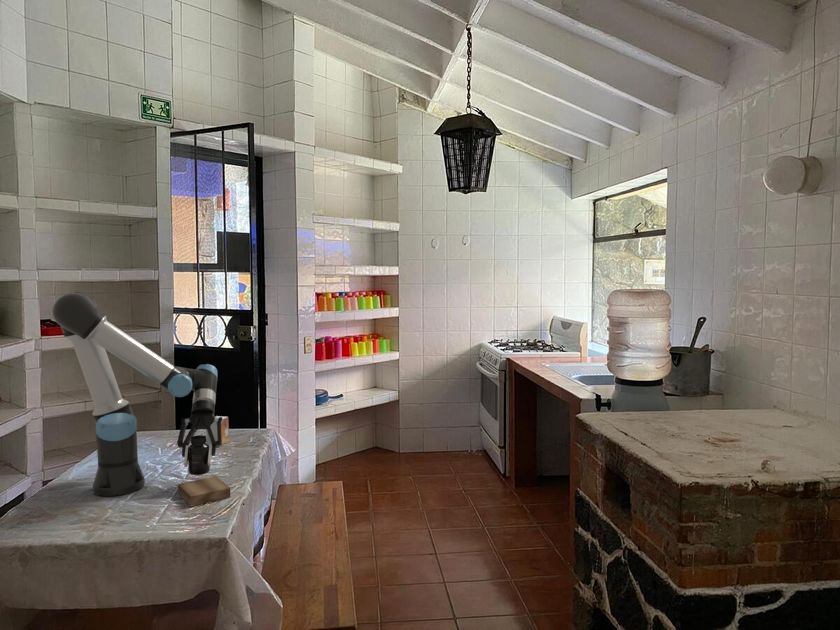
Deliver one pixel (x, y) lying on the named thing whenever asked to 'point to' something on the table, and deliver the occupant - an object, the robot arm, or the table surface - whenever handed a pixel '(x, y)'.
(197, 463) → the supplement bottle
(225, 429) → the small box
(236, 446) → the table surface
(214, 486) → the brown flat block
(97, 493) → the robot arm
